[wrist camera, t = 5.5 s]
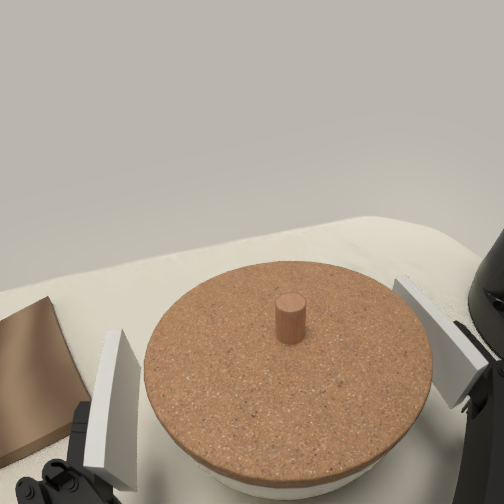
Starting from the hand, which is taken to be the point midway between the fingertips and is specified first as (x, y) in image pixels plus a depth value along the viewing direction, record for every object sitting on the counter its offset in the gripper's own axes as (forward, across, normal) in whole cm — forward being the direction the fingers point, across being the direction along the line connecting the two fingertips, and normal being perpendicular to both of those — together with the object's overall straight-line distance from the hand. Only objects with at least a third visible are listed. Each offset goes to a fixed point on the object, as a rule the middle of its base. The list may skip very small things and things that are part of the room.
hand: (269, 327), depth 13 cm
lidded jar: (-2, 0, -6) cm, 7 cm away
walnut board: (+2, -22, -6) cm, 23 cm away
